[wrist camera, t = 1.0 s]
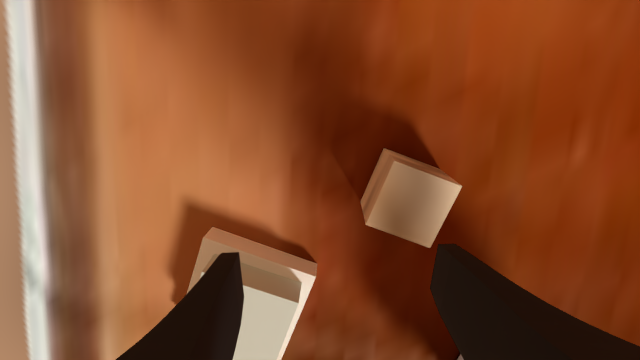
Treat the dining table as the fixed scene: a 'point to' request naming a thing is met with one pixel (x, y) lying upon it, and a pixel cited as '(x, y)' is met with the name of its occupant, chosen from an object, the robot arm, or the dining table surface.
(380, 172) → the birch block
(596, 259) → the dining table surface
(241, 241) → the bottom slab
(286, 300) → the top slab
